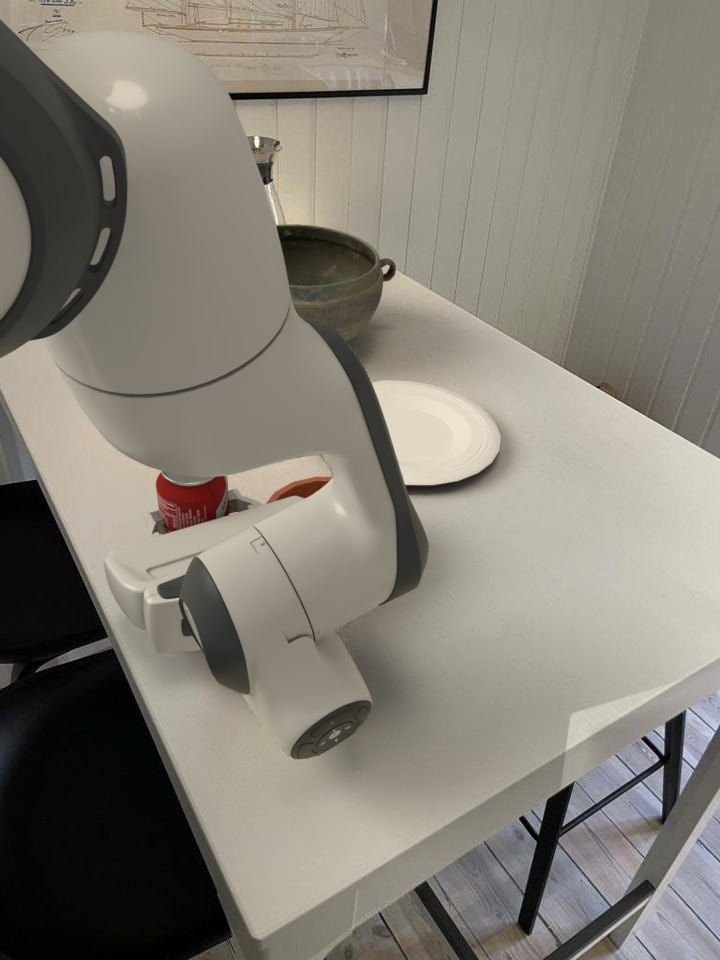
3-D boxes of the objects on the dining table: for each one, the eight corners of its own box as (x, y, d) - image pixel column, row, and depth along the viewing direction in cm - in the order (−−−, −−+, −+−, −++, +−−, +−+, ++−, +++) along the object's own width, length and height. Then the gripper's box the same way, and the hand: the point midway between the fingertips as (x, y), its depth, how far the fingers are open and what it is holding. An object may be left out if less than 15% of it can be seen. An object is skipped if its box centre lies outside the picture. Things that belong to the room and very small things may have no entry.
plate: (527, 488, 93) (530, 476, 92) (328, 504, 88) (329, 491, 87) (465, 386, 113) (467, 375, 111) (299, 394, 108) (299, 383, 106)
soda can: (212, 589, 75) (205, 494, 68) (152, 571, 76) (139, 476, 69) (242, 547, 80) (238, 455, 73) (185, 531, 82) (177, 439, 75)
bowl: (213, 396, 106) (207, 295, 97) (180, 317, 125) (173, 227, 116) (420, 369, 116) (432, 276, 107) (361, 300, 135) (367, 216, 126)
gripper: (352, 534, 69) (285, 454, 78) (128, 608, 59) (83, 509, 69) (348, 583, 72) (284, 502, 82) (137, 661, 63) (93, 559, 72)
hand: (191, 506), depth 75 cm, fingers closed on soda can, 7 cm apart
